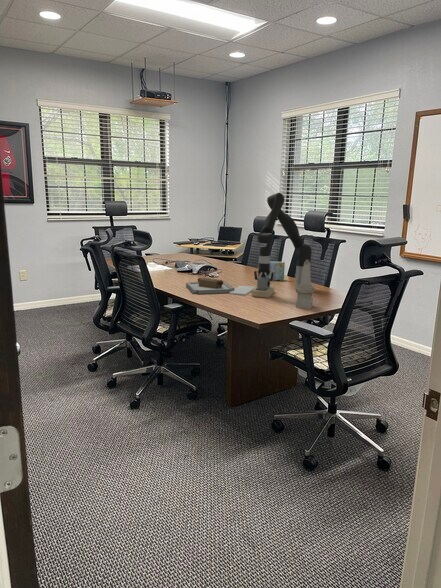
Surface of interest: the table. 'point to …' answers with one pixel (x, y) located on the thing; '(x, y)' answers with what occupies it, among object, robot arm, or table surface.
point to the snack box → (276, 270)
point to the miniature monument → (305, 288)
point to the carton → (263, 292)
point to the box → (262, 284)
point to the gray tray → (209, 286)
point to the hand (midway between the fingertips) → (263, 286)
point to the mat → (242, 290)
